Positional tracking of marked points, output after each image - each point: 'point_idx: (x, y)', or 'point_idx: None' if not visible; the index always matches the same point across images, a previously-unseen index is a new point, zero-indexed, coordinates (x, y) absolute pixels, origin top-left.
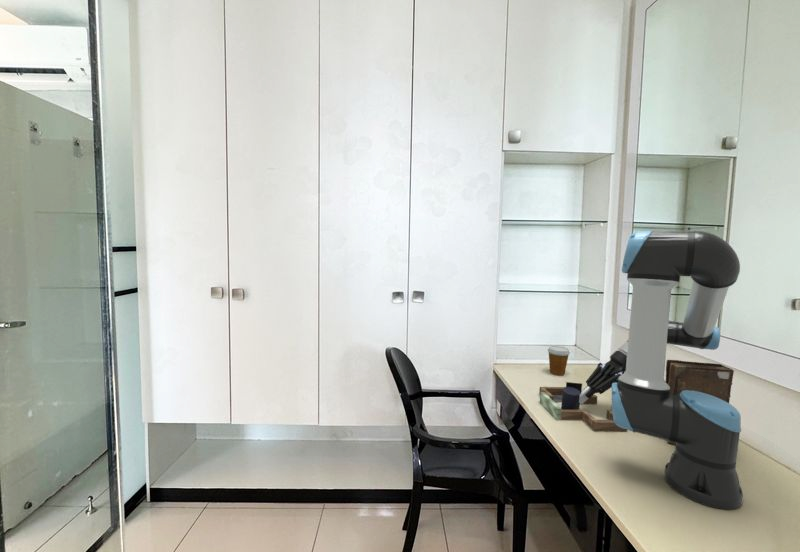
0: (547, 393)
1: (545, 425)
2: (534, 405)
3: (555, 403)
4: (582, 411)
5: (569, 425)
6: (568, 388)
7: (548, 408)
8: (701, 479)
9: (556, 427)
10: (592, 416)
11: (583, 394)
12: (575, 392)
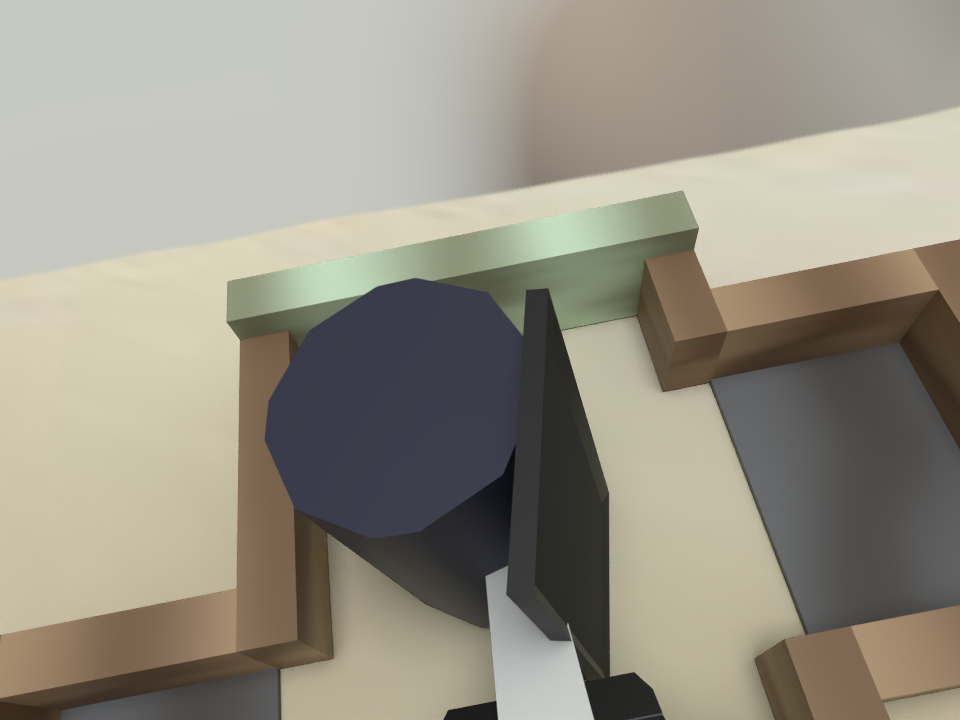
0: (749, 290)
1: (178, 250)
2: None
3: (366, 288)
4: (243, 587)
5: (166, 438)
6: (470, 359)
7: None
8: None
9: (139, 322)
10: (96, 678)
11: (496, 669)
12: (350, 450)
